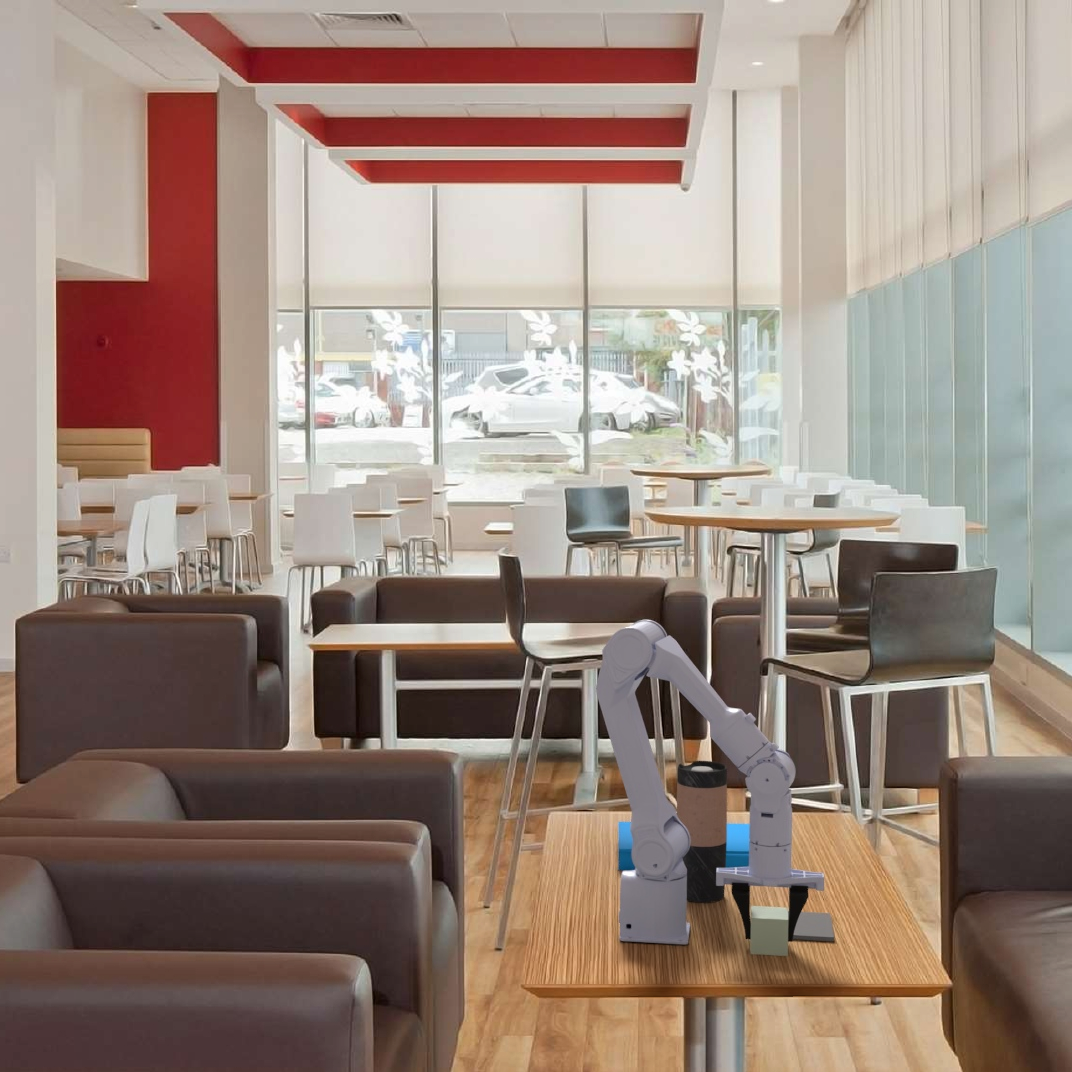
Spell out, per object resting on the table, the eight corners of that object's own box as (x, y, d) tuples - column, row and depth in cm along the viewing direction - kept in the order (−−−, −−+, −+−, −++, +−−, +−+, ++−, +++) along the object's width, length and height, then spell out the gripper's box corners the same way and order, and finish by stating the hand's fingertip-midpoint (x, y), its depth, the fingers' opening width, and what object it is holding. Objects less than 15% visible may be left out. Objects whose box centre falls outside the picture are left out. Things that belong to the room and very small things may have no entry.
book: (617, 821, 246) (762, 821, 245) (617, 846, 247) (762, 846, 245) (618, 850, 229) (775, 850, 228) (618, 876, 230) (775, 876, 228)
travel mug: (724, 905, 213) (725, 773, 212) (673, 901, 215) (674, 770, 213) (727, 889, 221) (729, 761, 219) (678, 885, 222) (679, 759, 221)
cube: (750, 953, 194) (750, 917, 193) (750, 940, 199) (750, 905, 198) (787, 956, 193) (788, 919, 192) (786, 942, 198) (787, 907, 197)
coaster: (761, 937, 200) (761, 933, 200) (760, 913, 210) (760, 909, 210) (834, 941, 198) (834, 937, 198) (830, 917, 208) (830, 913, 208)
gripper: (716, 846, 192) (714, 945, 193) (826, 851, 190) (824, 951, 191) (717, 832, 199) (716, 927, 200) (823, 836, 196) (821, 933, 197)
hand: (768, 938), depth 196 cm, fingers closed on cube, 5 cm apart
